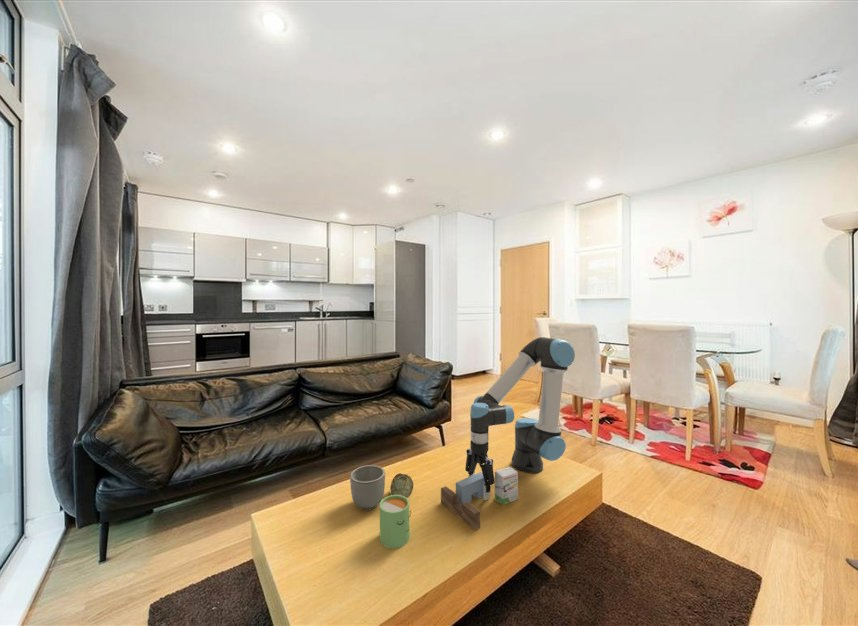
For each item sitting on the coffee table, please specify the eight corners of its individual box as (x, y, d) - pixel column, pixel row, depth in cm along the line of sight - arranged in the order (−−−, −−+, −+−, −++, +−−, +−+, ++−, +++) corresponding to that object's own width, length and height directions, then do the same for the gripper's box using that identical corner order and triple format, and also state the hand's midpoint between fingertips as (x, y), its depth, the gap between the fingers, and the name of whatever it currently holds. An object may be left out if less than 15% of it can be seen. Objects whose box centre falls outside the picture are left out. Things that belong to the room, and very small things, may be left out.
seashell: (418, 491, 140) (418, 468, 140) (408, 507, 129) (408, 482, 129) (396, 487, 144) (396, 464, 143) (384, 502, 133) (384, 477, 133)
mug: (398, 553, 105) (398, 516, 105) (374, 541, 111) (373, 506, 111) (419, 530, 116) (419, 497, 116) (396, 520, 122) (396, 488, 121)
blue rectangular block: (480, 490, 141) (480, 472, 140) (487, 494, 137) (487, 476, 137) (455, 501, 133) (455, 482, 132) (462, 506, 129) (462, 486, 129)
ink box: (502, 505, 130) (502, 476, 130) (494, 499, 134) (494, 471, 134) (518, 499, 134) (518, 471, 134) (510, 493, 138) (510, 466, 138)
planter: (391, 499, 134) (391, 468, 134) (372, 520, 122) (372, 486, 121) (364, 491, 140) (363, 462, 140) (343, 510, 127) (342, 477, 127)
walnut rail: (445, 500, 133) (445, 486, 133) (480, 527, 117) (480, 511, 117) (441, 502, 132) (441, 488, 132) (475, 530, 116) (475, 513, 116)
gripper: (456, 434, 143) (456, 485, 144) (491, 452, 126) (490, 509, 127) (469, 431, 148) (469, 480, 148) (504, 447, 131) (503, 503, 131)
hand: (479, 494), depth 137 cm, fingers open, 8 cm apart
